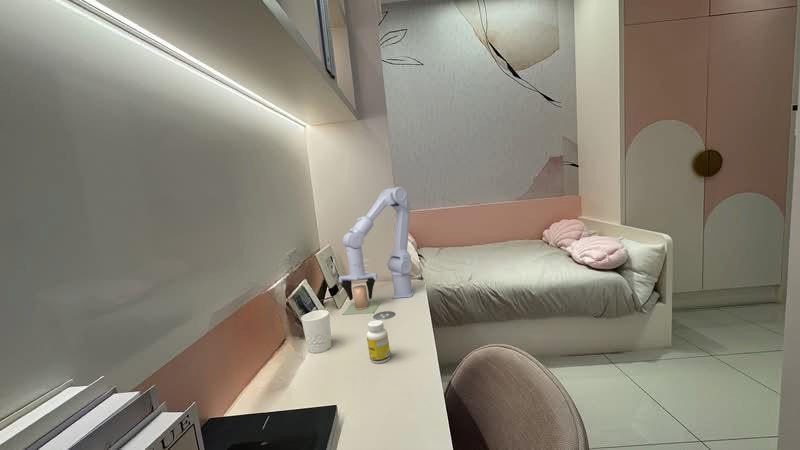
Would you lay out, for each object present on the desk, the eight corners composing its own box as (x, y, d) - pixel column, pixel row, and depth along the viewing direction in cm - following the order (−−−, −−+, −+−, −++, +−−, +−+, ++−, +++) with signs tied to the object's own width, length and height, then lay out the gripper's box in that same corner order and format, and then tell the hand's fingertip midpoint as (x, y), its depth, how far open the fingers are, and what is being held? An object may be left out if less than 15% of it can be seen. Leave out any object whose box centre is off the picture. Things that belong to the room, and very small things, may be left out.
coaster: (375, 313, 127) (375, 311, 127) (397, 311, 126) (397, 310, 126) (370, 321, 119) (370, 320, 119) (393, 320, 118) (393, 319, 118)
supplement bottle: (367, 357, 93) (362, 322, 92) (386, 351, 94) (382, 317, 93) (373, 366, 88) (368, 328, 87) (393, 360, 89) (388, 323, 88)
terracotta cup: (357, 305, 136) (354, 285, 135) (370, 304, 135) (367, 284, 134) (353, 310, 131) (350, 289, 130) (366, 309, 130) (364, 288, 129)
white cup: (336, 340, 106) (332, 309, 105) (329, 353, 98) (323, 319, 97) (312, 342, 107) (307, 311, 106) (302, 355, 99) (296, 321, 98)
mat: (351, 303, 140) (351, 303, 140) (380, 301, 138) (380, 301, 138) (342, 315, 128) (342, 314, 128) (373, 313, 126) (373, 312, 126)
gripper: (334, 268, 129) (339, 303, 130) (372, 264, 126) (377, 301, 127) (340, 263, 135) (345, 297, 137) (376, 260, 133) (381, 294, 134)
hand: (360, 298), depth 133 cm, fingers open, 7 cm apart
